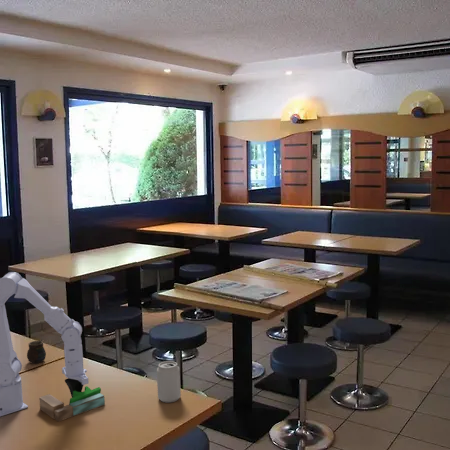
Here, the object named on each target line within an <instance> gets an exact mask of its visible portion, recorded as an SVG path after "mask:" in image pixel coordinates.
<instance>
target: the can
mask: <svg viewBox="0 0 450 450" xmlns="http://www.w3.org/2000/svg"><path fill="white" fill-rule="evenodd" d="M156 380H157V381H156V383H157V385H156V386H157V398H158V400H159V401H161V402H163V403H167V404H168V403H175V402H177V401H178V400H179V399H180V398H181V396H182V394H181V373H180V366H179V365H178V363H177V362H176V361H172V360H167V361H162V362H160V363H159V364H158V367H157V368H156Z"/></svg>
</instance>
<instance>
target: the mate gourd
mask: <svg viewBox="0 0 450 450" xmlns="http://www.w3.org/2000/svg"><path fill="white" fill-rule="evenodd" d="M46 355H47V352H46V350H45V347H44V341H43V339H40V340H33V341H30V342H29V343H28V350H27V353H26V357H27V361H28V362H29V363H30V364H33V365H37V364H41V363H43V362H44V361H45V359H46Z"/></svg>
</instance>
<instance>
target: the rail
mask: <svg viewBox="0 0 450 450" xmlns="http://www.w3.org/2000/svg"><path fill="white" fill-rule="evenodd" d="M69 403H70V402H69ZM105 404H106V401H105V395H104V394H103V393H99V394H96V395H93V396H91V397H88V398H85V399H82V400H79V401H76V402H73V403H70V404H66V405H64V406H63V407H60V408H57V409H55V410H54V416H55V419H54V420H55V421H57V422H61V421H63V420H67V419H68V418H69V419H70V418H73V417H75V416H77V415H80V414H83V413H85V412H88V411H91V410H94V409H97V408H100V407H102V406H105Z"/></svg>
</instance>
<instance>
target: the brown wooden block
mask: <svg viewBox="0 0 450 450" xmlns="http://www.w3.org/2000/svg"><path fill="white" fill-rule="evenodd" d="M63 406H65V403H64V402H62V401H61V400H60V399H58V398H57V397H55V396H53V395H52V394H50V393H49V394H46V395H42V396H39V409H40V410H41V411H42V412H43V413H45V414H46V415H47V416H49V417H50V418H51V419H53V420H55V416H54V410H55V409H57V408H60V407H63Z"/></svg>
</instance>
